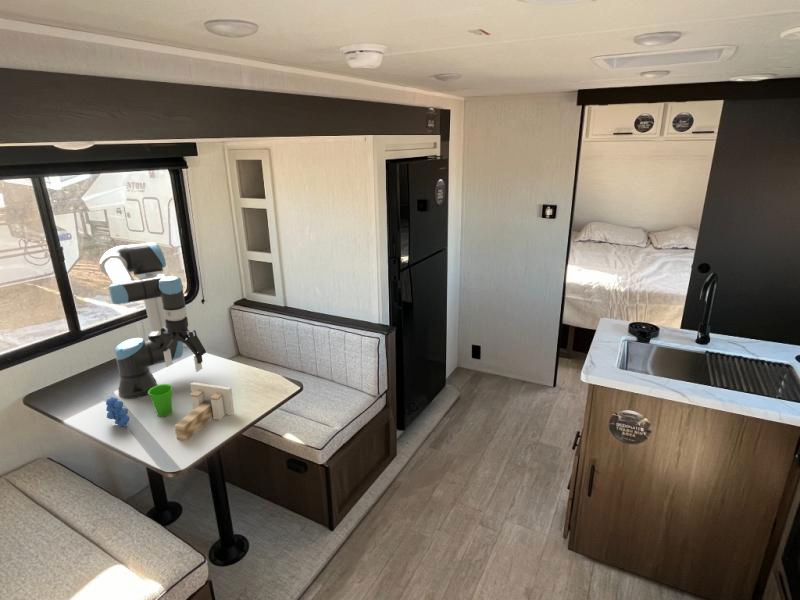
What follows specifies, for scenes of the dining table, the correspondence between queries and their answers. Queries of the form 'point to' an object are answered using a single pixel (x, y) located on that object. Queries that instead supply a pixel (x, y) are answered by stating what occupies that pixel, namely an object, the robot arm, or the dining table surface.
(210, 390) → the headboard
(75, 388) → the dining table surface
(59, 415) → the dining table surface
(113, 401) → the grapes
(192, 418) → the block
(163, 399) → the cup
